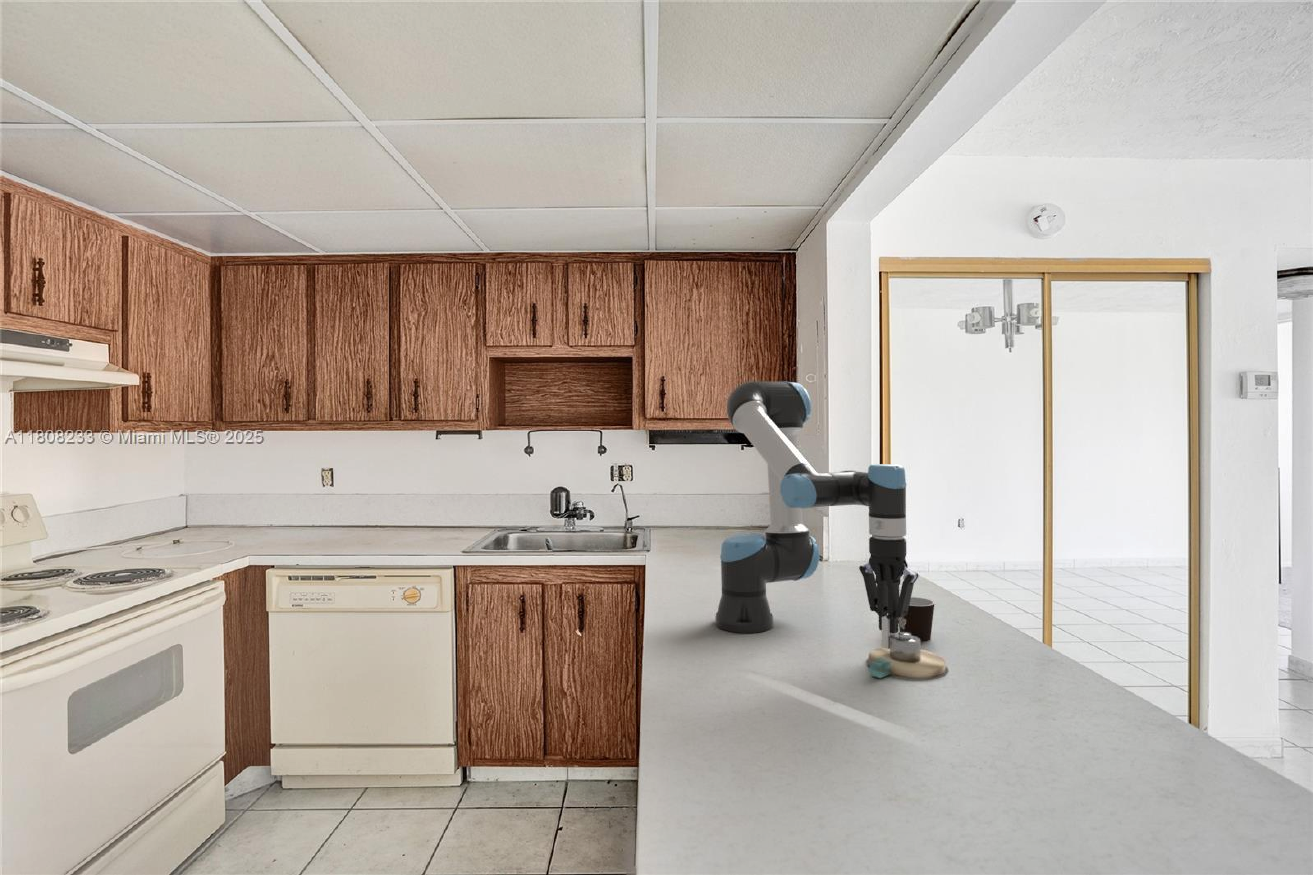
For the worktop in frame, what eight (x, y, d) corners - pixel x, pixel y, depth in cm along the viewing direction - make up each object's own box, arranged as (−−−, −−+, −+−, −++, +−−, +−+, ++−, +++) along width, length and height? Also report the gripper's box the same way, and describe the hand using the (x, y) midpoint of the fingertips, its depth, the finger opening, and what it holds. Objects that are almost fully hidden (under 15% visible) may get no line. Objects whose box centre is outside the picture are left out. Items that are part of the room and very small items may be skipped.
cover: (884, 657, 137) (883, 633, 137) (900, 651, 140) (899, 627, 140) (910, 664, 132) (910, 640, 132) (926, 658, 136) (925, 634, 136)
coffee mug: (938, 650, 149) (938, 606, 149) (899, 648, 151) (898, 605, 151) (928, 634, 161) (927, 594, 161) (891, 633, 163) (891, 593, 163)
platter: (894, 648, 146) (894, 635, 146) (959, 666, 135) (959, 652, 135) (843, 668, 135) (842, 653, 135) (909, 689, 123) (909, 673, 123)
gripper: (850, 535, 142) (852, 643, 142) (905, 542, 131) (907, 658, 132) (871, 531, 146) (872, 636, 146) (925, 538, 136) (926, 650, 136)
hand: (888, 646), depth 139 cm, fingers closed
